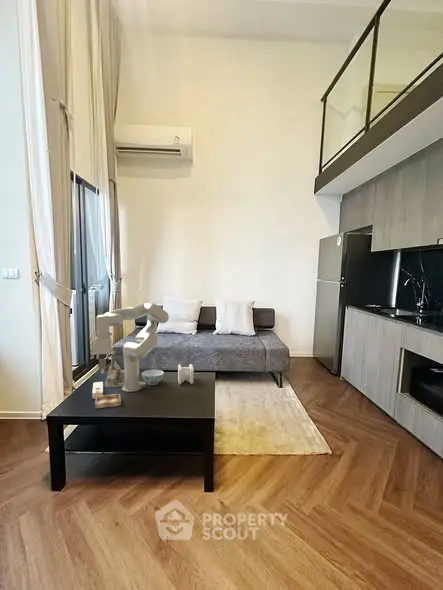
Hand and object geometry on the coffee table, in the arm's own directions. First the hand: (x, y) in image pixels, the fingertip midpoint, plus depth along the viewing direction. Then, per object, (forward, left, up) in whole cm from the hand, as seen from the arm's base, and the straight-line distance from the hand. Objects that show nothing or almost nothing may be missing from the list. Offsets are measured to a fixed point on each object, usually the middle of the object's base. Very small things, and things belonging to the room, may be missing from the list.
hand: (102, 364), depth 192 cm
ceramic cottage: (-10, -25, -22) cm, 34 cm away
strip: (+3, -12, -21) cm, 25 cm away
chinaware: (-33, -19, -22) cm, 44 cm away
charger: (0, +2, -5) cm, 5 cm away
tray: (-3, +7, -21) cm, 23 cm away
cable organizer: (-56, -16, -22) cm, 62 cm away
